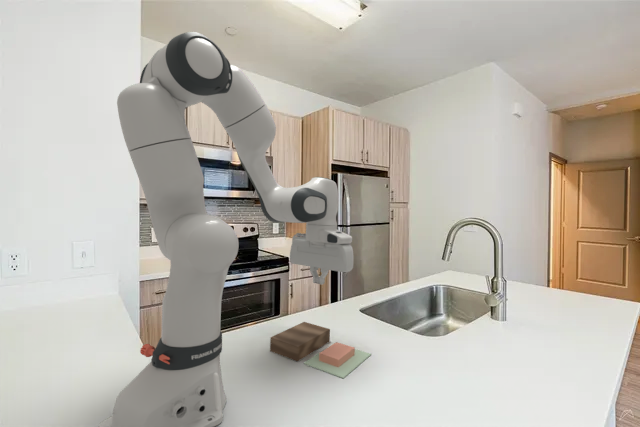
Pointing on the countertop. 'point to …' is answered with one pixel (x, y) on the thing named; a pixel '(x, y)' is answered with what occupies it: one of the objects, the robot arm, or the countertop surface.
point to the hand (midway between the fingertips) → (318, 283)
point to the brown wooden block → (299, 341)
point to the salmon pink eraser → (336, 354)
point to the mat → (341, 370)
